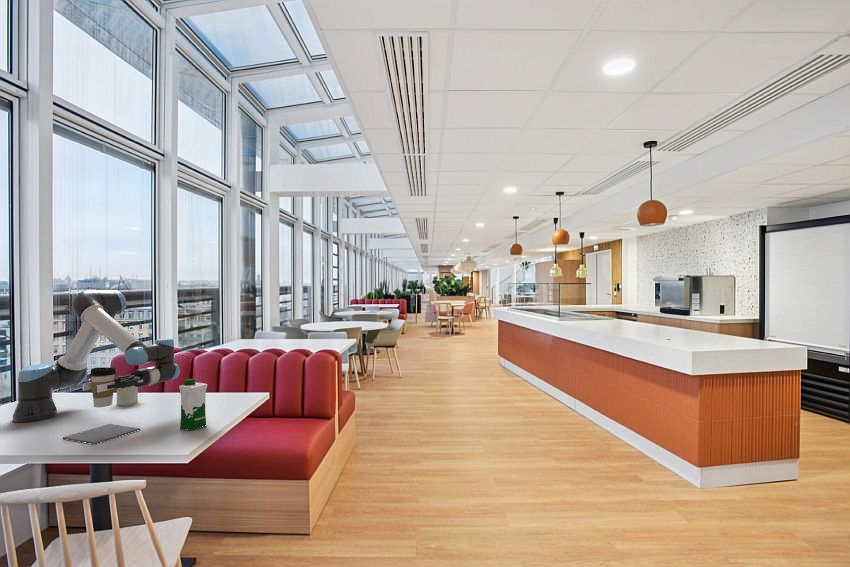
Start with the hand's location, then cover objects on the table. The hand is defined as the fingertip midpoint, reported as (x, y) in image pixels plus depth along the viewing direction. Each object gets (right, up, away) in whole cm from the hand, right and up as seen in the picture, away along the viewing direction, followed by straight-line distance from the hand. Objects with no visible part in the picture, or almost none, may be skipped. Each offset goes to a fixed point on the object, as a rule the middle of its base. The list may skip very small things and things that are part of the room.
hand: (90, 388), depth 174 cm
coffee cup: (+2, -8, +4) cm, 10 cm away
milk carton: (+33, -20, +13) cm, 41 cm away
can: (-21, -20, +53) cm, 61 cm away
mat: (+2, -20, +4) cm, 20 cm away
